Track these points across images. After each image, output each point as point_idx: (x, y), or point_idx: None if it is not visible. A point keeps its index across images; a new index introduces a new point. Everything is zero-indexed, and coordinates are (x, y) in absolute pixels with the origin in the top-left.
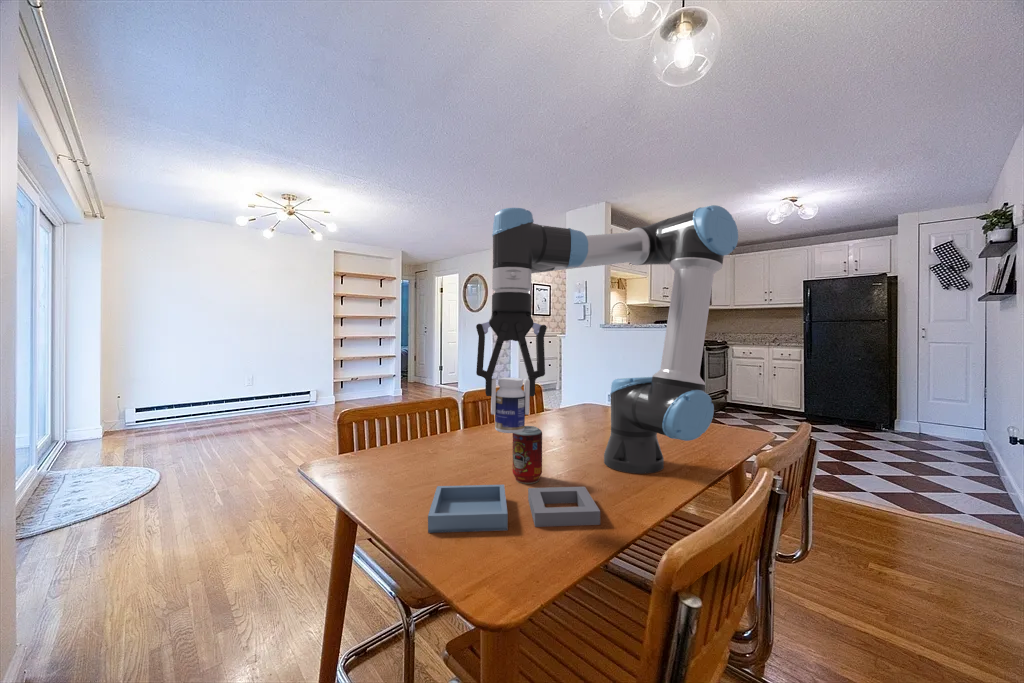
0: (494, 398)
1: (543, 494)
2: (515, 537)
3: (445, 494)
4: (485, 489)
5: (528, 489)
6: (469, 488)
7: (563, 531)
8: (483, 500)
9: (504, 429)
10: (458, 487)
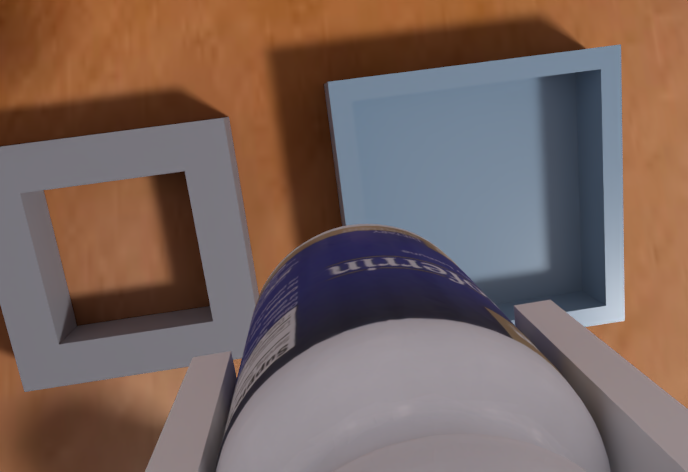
0: (600, 375)
1: (200, 319)
2: (292, 34)
3: (578, 298)
4: None
5: None
6: None
7: (124, 89)
8: None
9: (401, 230)
10: None
